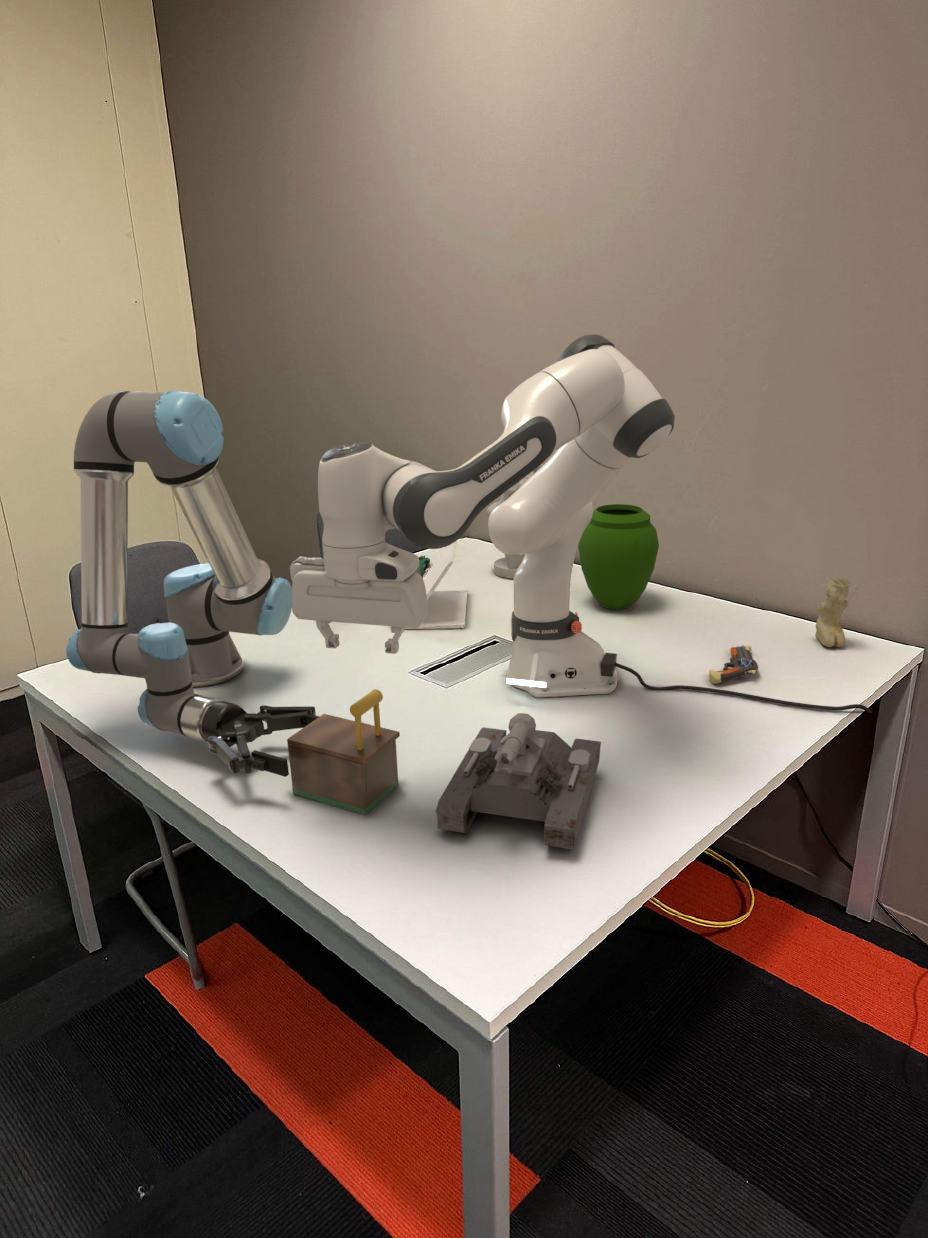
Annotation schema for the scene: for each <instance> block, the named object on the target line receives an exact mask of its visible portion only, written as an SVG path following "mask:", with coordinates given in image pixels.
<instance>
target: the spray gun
mask: <svg viewBox="0 0 928 1238" xmlns="http://www.w3.org/2000/svg"><path fill="white" fill-rule="evenodd" d="M418 558H419V567H418V568H417V570H416V571H415V572H417V573H419V574H420V575H421V576H422V573H423V571H424V569H425V568H426V566H429V565H430V563H431V558H429V557H428V556H426V555H420V556H418Z"/></svg>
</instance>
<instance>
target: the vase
mask: <svg viewBox="0 0 928 1238" xmlns="http://www.w3.org/2000/svg"><path fill="white" fill-rule="evenodd" d="M659 543H660V542H659V537H658V531H657V528H656V527H655V526H654V524H653V523H652V522H651V515H650V514H649V512H647V511H645V510H644V509H643V508H642V507H641V506H638V505H633V504H622V503H621V504H619V503H616V504H615V503H614V504H604V505H601V506H598V507H597V508H595V509H593V516H592V519H591V521H590V523H589V524H588V526H587V527H586V529H585V531H584V532H583V535H582V537H581V540H580V542H579V546H578V554H579V562H580V569H581V571H582V574H583V577H584V580H585V583H586V585H587V588H588V590H589V591H590V594H592V597H593V598H594V600H595V601H596V602H597V603H598V604H599V605H600V606H602V607H604V608H606V609H609V610H625V609H628V608H630V607H632V606H634V604H636V602H638V601H639V599H640V597H641V596H642V595H643V593H644V592H645V590H646V588H647V586H648V584H649V581H650V579H651V577H652V574H653V572H654V570H655V566H656V562H657V557H658V552H659V548H660V544H659Z"/></svg>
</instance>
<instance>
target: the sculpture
mask: <svg viewBox="0 0 928 1238" xmlns="http://www.w3.org/2000/svg"><path fill="white" fill-rule="evenodd" d="M826 581H827V586H826V588H825V590H824V593H825V595H826V596H827V598H826V600H824V601H822V602H821V603H820V604H819V605H818V606H817V609H816V610H817V612H818V614H819V616H818V617H817V619H816V623H815V630H816V631H815V634H814V635H815V639H817V640H819V642H820V643H821V644H822V645H823V646H825V647H827V648H832V647H834V646H835V647H843V646H844V645H845V643H846V642H845V641H846V636H845V632H844V630H843V626H842V624H841V622H840V621H841V617H842V615H843V612H844V610H845V609H846V608H847V606H848V604H849V603H848V602H849V601H847V598H848V597H849V592H850V586H851V585H852V582H850V580H848V579H847V578H845V577H841V576H840V577H835V578H831V577H827V578H826Z"/></svg>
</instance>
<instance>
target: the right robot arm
mask: <svg viewBox="0 0 928 1238" xmlns="http://www.w3.org/2000/svg"><path fill="white" fill-rule="evenodd" d="M500 413H501V414H500V419H501V421H500V422H501V426H502V430H503V432H502V433H501V435H500V436H499V437H498V438H497V439H496V440H495V441H493V442H492V443H491V444H489V445H488V446H487V447H484V449H482V450H481V451H480V452H478V453H476V455H473V456H472V457H471V458H470V459H468V460H467V461H465V462H464V463H463V464H461V465H460V466H458V467H456V468H453V469H448V470H434V469H432V468H431V467H429V466H427V465H425V464H422V463H419V462H417V461H413V460H409V459H404V458H400V457H398V456H395V455H392V454H390V453H388V452H385V451H383V450H382V449H380V448H378V447H376V446H375V445H374V444H373V443H371V442H369V441H355V442H347V443H343V444H339V445H337V446H334V447H332V448H330V449H329V450H327V451H326V452H325V453H324V454H323V455H322V456H321V457H320V460H319V464H318V470H317V471H318V472H317V499H318V509H319V510H318V512H319V514H320V517H321V520H322V525H323V532H322V536H321V545H322V555H323V557H318V556H317V557H308V556H299V557H298V558H297V559H294V560H293V561H292V562H291V564H290V565H289V573H290V579H291V582H292V584H291V587H292V610H291V613H293V615H294V617H296V619H297V620H306V621H315V622H316V623H315V624H316V628H317V629H318V631H319V632H320V634H321V636H322V637H323V638H324V642H325V643H324V644H325V648H326V649H337V648H338V647H339V646H340V640H339V639H340V634H339V633H334V631H333V629H332V627H331V626H330V624H331V622H332V623H344V624H356V625H370V626H381V627H390V633H391V634H393V636H392V638H391V637H390V638H388V639H387V640H386V641H385V642H384V648H385V650H384V652H385V654H391V655H396V654H397V653H398V652H399V648H400V647H399V645H400V644H399V640H400V639H401V636H402V635H403V633H404V631H405V630H406V629H405V627H406V628H418V627H419V626H420V625H421V624H422V623H423V622H424V621H425V620H426V619H427V617H428V601H427V594H426V589H425V584H424V581H423V579H424V578H423V577H422V574H421V575H420V574H419V573H417V572H415V571H416V570H417V568H418V567H419V558H418V557H419V556H418V555H417V554H415V553H414V552H410V551H407V550H406V549H405V550H404V549H402V548H399V547H397V546H395V545H392V544H390V543H388V542H386V533H387V532H388V531H389V530H396V529H397V530H399V531H400V532H401V533H402V534H403V535H404V536H405V537H406V538H407V539H408V541H410V542H411V543H412V544H414V545H415V546H417V547H420V548H422V549H426V550H438V549H444V548H445V547H446V546H449V545H451V544H452V543H454V542H455V541H457V542H458V540H459V539H460V538H462V536H464V534H465V533H466V532H467V530H468V529H469V528H470V527H471V525H472V524H473V522H474V521H475V519H476V518H477V517H478V516H479V514H481V512H482V511H483V510H484V509H485V508H486V507H488V506H489V505H490V504H492V503H493V502H494V501H495V500H496V499H499V497H500V496H502V494H503V493H504V492H506V491H507V490H508V489H510V488H511V487H512V486H514V485H515V484H516V483H518V482H519V481H520V480H522V479H523V478H524V477H526V476H527V475H528V474H530V473H531V472H532V471H533V470H535V469H536V468H537V467H538V466H540V465H541V464H542V463H543V466H542V467H541V468H540V469H539V470H538V471H537V472H535V473H534V474H533V475H532V476H531V477H530V478H529V479H528V480H527V481H526V482H525V483H524V484H523V485H522V486H521V487H520V488H519V489H518V490H517V491H516V492H515V493H513V494H512V495H511V496H510V497H509V498H508V499H507V500H505V501H504V502H503V503H501V504H500V505H499V506H497V507H496V508H495V509H494V510H493V511H492V512H491V514H490V516H489V518H488V520H487V532H488V536H489V539H490V541H491V543H492V544H493V546H494V547H495V548H496V549H497V550H498V551H499V552H501V553H503V554H504V555H505V554H508V555H520V554H525V556H524V558H523V561H522V563H521V564H520V566H519V567H518V569H517V570H516V572H515V575H514V578H513V611H512V612H511V618H510V635H511V640H512V645H511V646H512V647H511V655H510V660H509V665H508V669H507V672H506V675H505V678H506V684H507V685H511V686H513V687H515V688H517V689H519V690H522V691H525V692H527V693H529V694H530V695H531V696H533V697H535V698H556V697H572V696H573V697H574V696H588V695H589V696H590V695H591V696H592V695H607V694H611V693H612V692H613V691H615V690H616V688H617V686H618V673H617V670H616V668H618V669H621V670H624V671H626V672H629V673H630V674H632V675H634V676H635V677H636V679H637V680H638V682H639V683H640V685H641V686H642V687H643V688H645V689H647V690H650V691H672V690H688V691H699V692H706V693H707V692H709V693H715V694H722V695H728V696H735V697H739V698H744V699H750V700H755V701H762V702H768V703H773V704H777V705H784V706H789V707H790V706H791V707H797V708H803V709H804V708H805V709H812V710H821V711H837V712H839V711H840V712H841V711H848V710H853V709H861V710H863V711H865V713H868V714H873V712H872V710H871V708H869V707H868V706H866V705H863V704H859V703H853V704H848V705H847V704H846V705H842V706H841V705H840V706H833V705H832V706H830V705H818V704H810V703H803V702H795V701H788V700H782V699H778V698H777V699H776V698H772V697H767V696H760V695H755V694H749V693H745V692H737V691H732V690H725V689H720V688H711V687H704V686H696V685H695V686H694V685H682V684H681V685H680V684H679V685H668V686H653V685H649V684H647V683H646V682H645V681H644V678H643V677H642V676H641V674H639V672H638V671H636V670H635V669H633V668H631V667H629V666H627V665H623V664H620V663H618V662H617V660H618V659H617V658H618V654H617V653H615V652H614V653H613V652H605V651H604V648H603V647H602V645H601V644H600V643H599V642H598V641H596V640H595V639H593V638H591V637H590V636H589V635H587V634H586V633H585V632H583V631H582V630H583V626H582V625H583V624H582V622H581V621H580V616H579V615H578V612H577V611H575V613H574V612H573V611H571V610H570V600H571V599H570V597H571V595H570V594H571V579H572V572H573V567H574V562H575V559H576V555H577V552H578V550H579V547H578V546H579V542H580V540H581V537H582V535H583V532H584V531H585V529H586V527H587V526H588V524H589V523H590V521H591V519H592V516H593V511H594V505H593V501H594V500H595V499H596V498H598V497H599V496H600V494H601V493H602V492H603V491H604V490H605V488H606V487H607V486H608V485H609V484H610V483H611V481H612V480H613V479H614V478H615V477H616V476H617V474H618V473H619V472H620V471H621V469H623V467H624V465H625V464H626V463H627V462H628V461H629V460H630V458H632V459H641V458H644V457H645V456H648V455H649V454H651V453H653V452H655V451H656V450H658V449H659V448H660V447H661V446H662V445H663V444H664V443H665V442H666V441H667V439H668V438H669V436H670V434H672V432H673V430H674V427H675V419H676V417H675V413H674V411H673V408H672V407H671V405H670V404H669V402H668V401H667V399H665V398H663V397H662V396H661V394H660V393H659V392H658V389H656V387H655V386H654V384H653V383H652V382H651V381H650V380H649V378H648V376H646V374H645V373H644V372H643V371H642V370H641V369H639V368H638V367H637V366H635V365H634V363H633V362H632V361H631V360H630V359H628V358H627V356H625V355H624V354H623V353H621V352H620V351H619V350H618V349H617V348H616V345H615V344H614V342H611V341H610V340H609V339H608V338H606V337H604V336H602V335H601V334H598V333H596V334H584V335H582V336H579V337H578V338H576V339H574V340H573V341H572V342H571V343H570V344H568V346H567V347H566V348H565V349H564V350H563V351H562V353H561V354H560V356H559V357H558V359H557V361H556V362H554V363H553V364H551V365H549V366H546V367H545V368H544V369H542V370H540V371H538V372H537V373H535V374H533V375H532V376H530V377H528V378H527V379H525V380H524V381H522V382H521V383H520V384H518V386H517V387H515V388H514V389H513V390H512V391H511V392H510V393H509V394H508V395H507V396H506V397H505V398H504V400H503V403H502V406H501V412H500ZM550 456H551V457H550ZM549 457H550V458H549ZM548 458H549V459H548ZM547 459H548V460H547ZM546 460H547V461H546ZM545 461H546V462H545ZM544 462H545V463H544Z"/></svg>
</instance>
